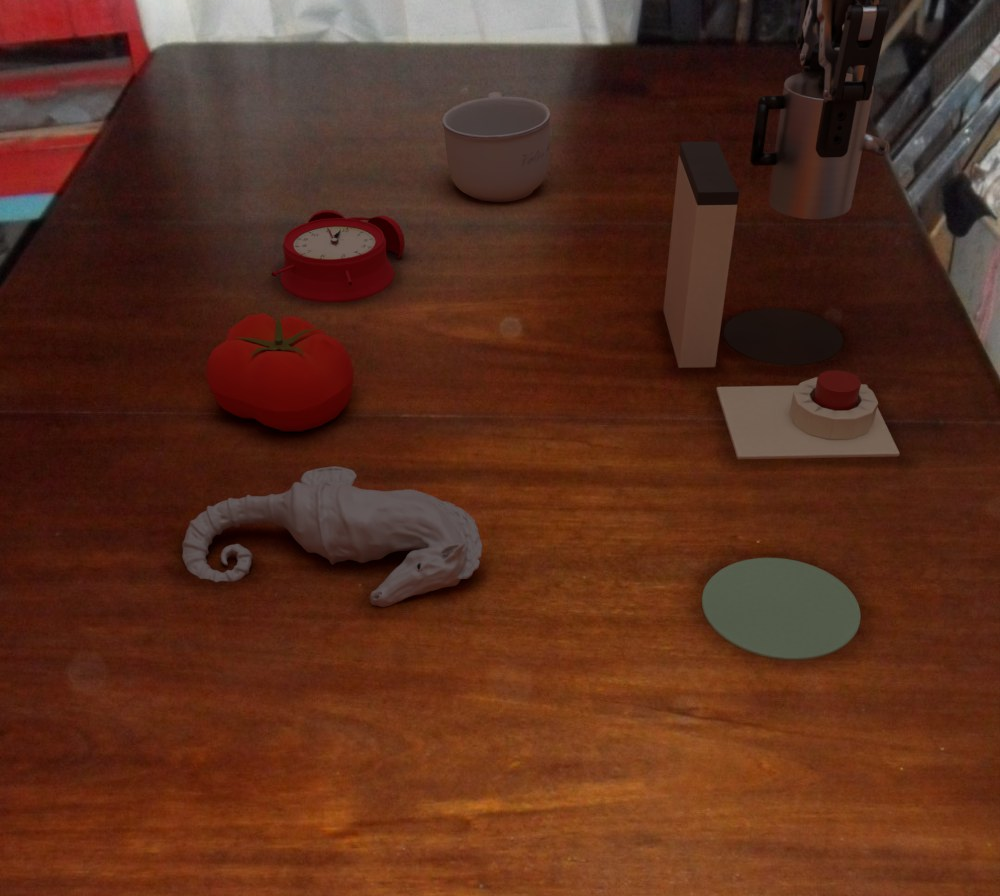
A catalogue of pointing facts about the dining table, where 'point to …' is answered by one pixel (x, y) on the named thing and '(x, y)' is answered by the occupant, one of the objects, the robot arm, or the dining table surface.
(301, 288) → the alarm clock
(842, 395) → the power button
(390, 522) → the seahorse
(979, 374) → the dining table surface
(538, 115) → the teacup
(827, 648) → the disc
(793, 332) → the coffee maker plate
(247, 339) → the tomato
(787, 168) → the kettle
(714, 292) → the tower
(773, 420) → the cream button base
